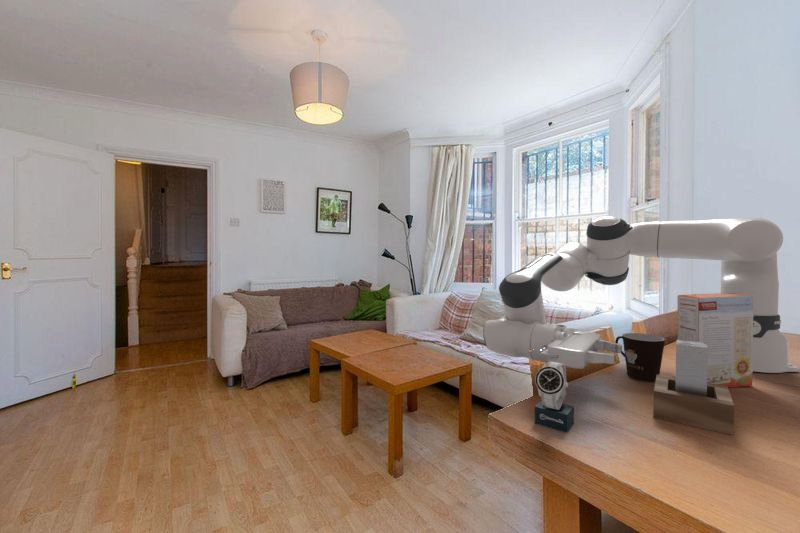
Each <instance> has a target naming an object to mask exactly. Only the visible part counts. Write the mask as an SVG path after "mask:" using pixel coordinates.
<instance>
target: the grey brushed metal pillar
mask: <svg viewBox="0 0 800 533" xmlns="http://www.w3.org/2000/svg"><path fill="white" fill-rule="evenodd" d="M675 345H676V346H675V378H676V382H675V391H676V392H681V393H687V394H692V395H698V396H703V397H707V367H708V347H707V343H701V342H692V341H683V340H678V339H676V341H675Z"/></svg>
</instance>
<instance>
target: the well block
mask: <svg viewBox="0 0 800 533" xmlns="http://www.w3.org/2000/svg"><path fill="white" fill-rule="evenodd" d="M675 382H676V376H675V377H674V376H669V375H668V376H666V375H660V374H659V375H657V376H656V381H655V382H654V387H653V402H652V403H653V404H652V406H653V407H652V408H653V409H652V410H653V412H652V413H653V414H652V416H653V418H655V419H660V420H664V421H669V422H672V423H673V422H675V423H677V424H681V425H685V426H691V427H696V428H700V429H703V430H704V429H705V430H709V431H714V432H718V433H722V434H726V435H731V436H734V434H735V433H734V431H735V430H734V426H735V423H734V422H735V404H734V401H733V399H732V395H731V392H730V390H729V387H728V386H724V385H717V384H711V383H707V397H703V396H698V395H692V394H687V393H681V392H676V391H675Z"/></svg>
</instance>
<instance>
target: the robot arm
mask: <svg viewBox="0 0 800 533" xmlns="http://www.w3.org/2000/svg"><path fill="white" fill-rule="evenodd" d="M585 233H586V245H584V244H583V243H580V242H577V241H572V242H571V241H570V242H568V243H567V242H566V243H565V244H564V245H561V246H560V247H559V248H558V249H556V250H555V251H554V252H547V253H543V254H541V255H539V256H538V257H535V258H534V259H532V260H531V261H530V262H529V263H527V264H526V265H524V266H523V267H521V269H519V270H517V271H513V272H511V273H509V274H508V275H506V276H505V277H504V278H502V280H501V282H500V284H499V286H498V291H499V294H500V297H501V300H502V302H503V307H504V312H505V314H504V315H503V316H502V317H500V318H498V319H488V320H486V321H485V323H484V324H483V329H482V332H483V333H482V337H483V342H484V345H485V347H486V349H488V350H489V351H491V352H493V353H496V354H499V355H502V356H507V357H512V358H526V359H529V356H530V359H529V360H531V359H532V361H534V360H537V361H536V362H539V361H540V362H541V363H544V364H547V363H548V362H549V361H551V362H557V363H562V364H564V365H565V368H566V367H567V368H570V369H571V368H572V369H576V370H577V369H579V370H581V369H584V368H585V367H586V366H587V365H588V364H607V365H608V364H609V365H614V364H615V362H616V355H615V354H621V351H623V346H622V344H621V343H618V344H616V343H613V342H611V341H607V340H603V339H602V335H601V334H599V333H598V332H594V331H588V330H583V329H579V328H569V327H567V325H565V324H549V323H547V318H546V311H545V306H544V300H543V293H542V283H543V285H545V287H547V288H548V289H550V290H552V291H556V292H567V291H570V290H572V289H573V288H575V287H576V286H578V285H579V283H580V281H582V278H583V277H584V276H585V277H586V278H588V279H589V280H592V281H593V282H595V283H598V284H600V285H604V286H615V285H618V284H621V283H622V282H624V281H626V279H627V277H628V274H629V270H630V269H629V268H630V267H629V262H630V255H631V256H632V255H633V256H637V257H643V258H644V257H645V258H657V259H658V258H659V259H681V260H682V259H687V260H709V261H720V264H721V265H720V293H737V294H745V295H753V372H757V373H769V374H777V373H778V374H779V373H780V374H782V373H788V372H790V373H791V372H792V373H794V372H796V373H798V372H799V367H798V366H796V365H794V364H793V363H791V362H790V357H789V356H790V353H789V348H790V347H789V338H788V337H787V336H785V335H784V334H783V333H782V332H780V329H781V323H782V320H781V315H780V314H779V288H780V287H779V286H780V283H779V272H778V252H779V251H780V249H781V248H782V245H783V242H784V235H783V234H784V233H783V231H782V230H781V227H779V226H778V225H777V224H776V223H774V222H773V221H771V220H768V219H765V218H762V217H761V218H760V217H742V218H740V217H739V218H737V217H736V218H716V219H699V220H698V219H694V220H691V219H689V220H655V221H654V220H653V221H642V222H636V223H635V222H634V223H630V222H627V221H626V220H624V219H622V218H621V217H619V216H613V215H604V216H598V217H595V218H594V219H593V220H591V221H590V222H588V223H587V228H586V232H585ZM533 349H534V350H533ZM529 350H532V352H529ZM599 351H608V352H599Z"/></svg>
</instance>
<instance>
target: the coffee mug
mask: <svg viewBox="0 0 800 533" xmlns="http://www.w3.org/2000/svg"><path fill="white" fill-rule="evenodd" d="M620 339H622V342H623V350H624V351H623V350H622V351H621V353H620V354H621V355H622V356H623V357H624V359H625V368H626V369H625V370H626V375H628V376H629V377H628V376H627V377H628V378H630V379H633V380H636V381H639V382H646V383H655V381H656V376H657V375H660V372H661V366H662V361H663V355H664V348H665V341H666V338H664V337H662V336H659V335H656V334H655V335H654V334H650V333H642V332H641V333H640V332H639V333H638V332H627V333H626V332H625V333H623V334H621V335H619V336H617V337H616V338H615V343H616V344H619V340H620Z"/></svg>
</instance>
